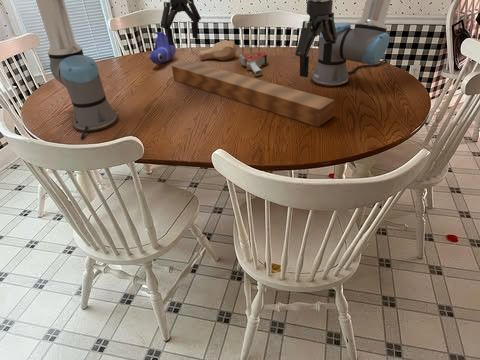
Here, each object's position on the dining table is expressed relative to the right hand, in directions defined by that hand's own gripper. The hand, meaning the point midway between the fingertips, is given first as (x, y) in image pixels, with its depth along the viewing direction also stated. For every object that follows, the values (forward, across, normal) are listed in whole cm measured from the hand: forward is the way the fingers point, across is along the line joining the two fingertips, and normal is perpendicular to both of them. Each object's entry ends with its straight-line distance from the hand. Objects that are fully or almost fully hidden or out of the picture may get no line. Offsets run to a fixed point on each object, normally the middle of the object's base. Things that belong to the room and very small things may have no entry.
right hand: (315, 69), depth 117 cm
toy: (+17, +6, +96) cm, 98 cm away
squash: (+18, +28, +77) cm, 83 cm away
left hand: (0, -1, +67) cm, 67 cm away
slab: (+17, -1, +33) cm, 37 cm away
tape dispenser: (+18, +27, +51) cm, 61 cm away
